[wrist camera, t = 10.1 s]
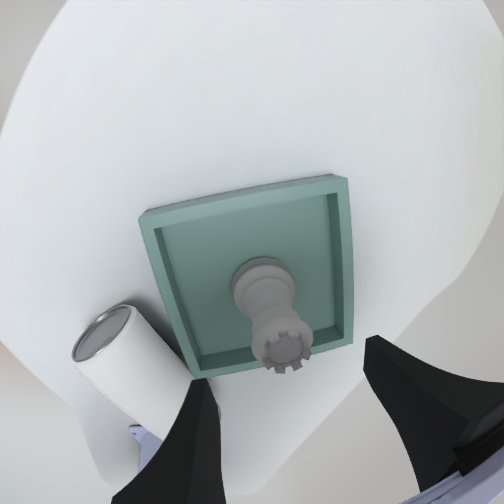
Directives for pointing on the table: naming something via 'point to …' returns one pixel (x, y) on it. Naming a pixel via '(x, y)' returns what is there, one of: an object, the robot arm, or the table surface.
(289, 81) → the table surface
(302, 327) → the rook chess piece
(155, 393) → the can
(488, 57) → the table surface
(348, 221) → the tray
